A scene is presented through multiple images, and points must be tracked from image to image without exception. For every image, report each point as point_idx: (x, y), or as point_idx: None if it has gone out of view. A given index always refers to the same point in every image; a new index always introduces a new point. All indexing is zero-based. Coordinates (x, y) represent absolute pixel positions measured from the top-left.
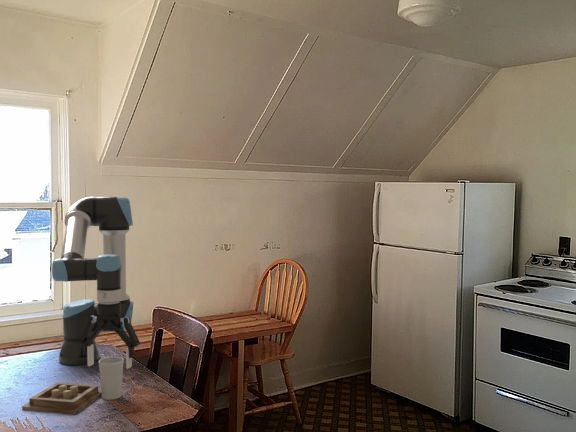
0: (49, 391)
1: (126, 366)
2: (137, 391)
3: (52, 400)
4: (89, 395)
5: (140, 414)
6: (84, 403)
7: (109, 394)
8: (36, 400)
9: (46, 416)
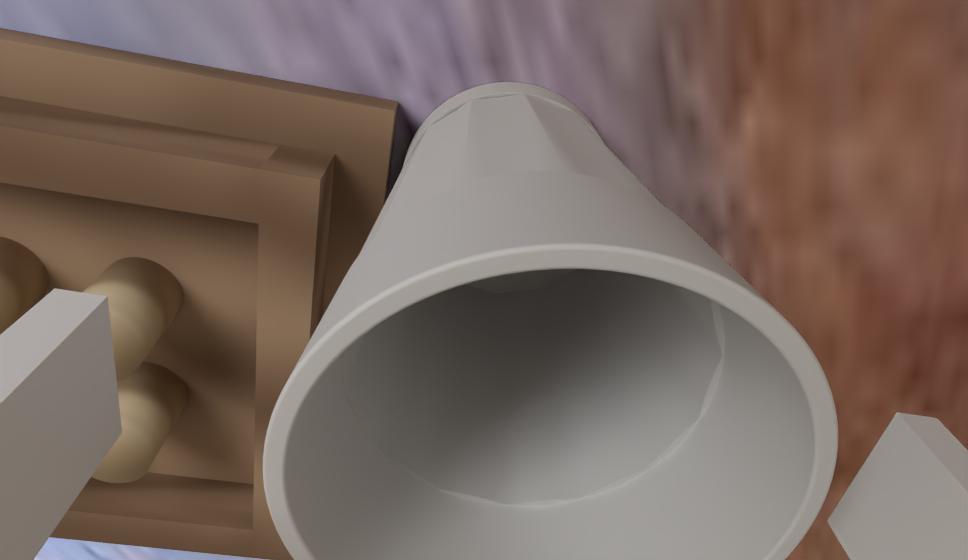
0: None
1: (853, 554)
2: (778, 35)
3: (89, 539)
4: None
5: None
6: None
7: (514, 300)
8: None
9: (163, 555)
